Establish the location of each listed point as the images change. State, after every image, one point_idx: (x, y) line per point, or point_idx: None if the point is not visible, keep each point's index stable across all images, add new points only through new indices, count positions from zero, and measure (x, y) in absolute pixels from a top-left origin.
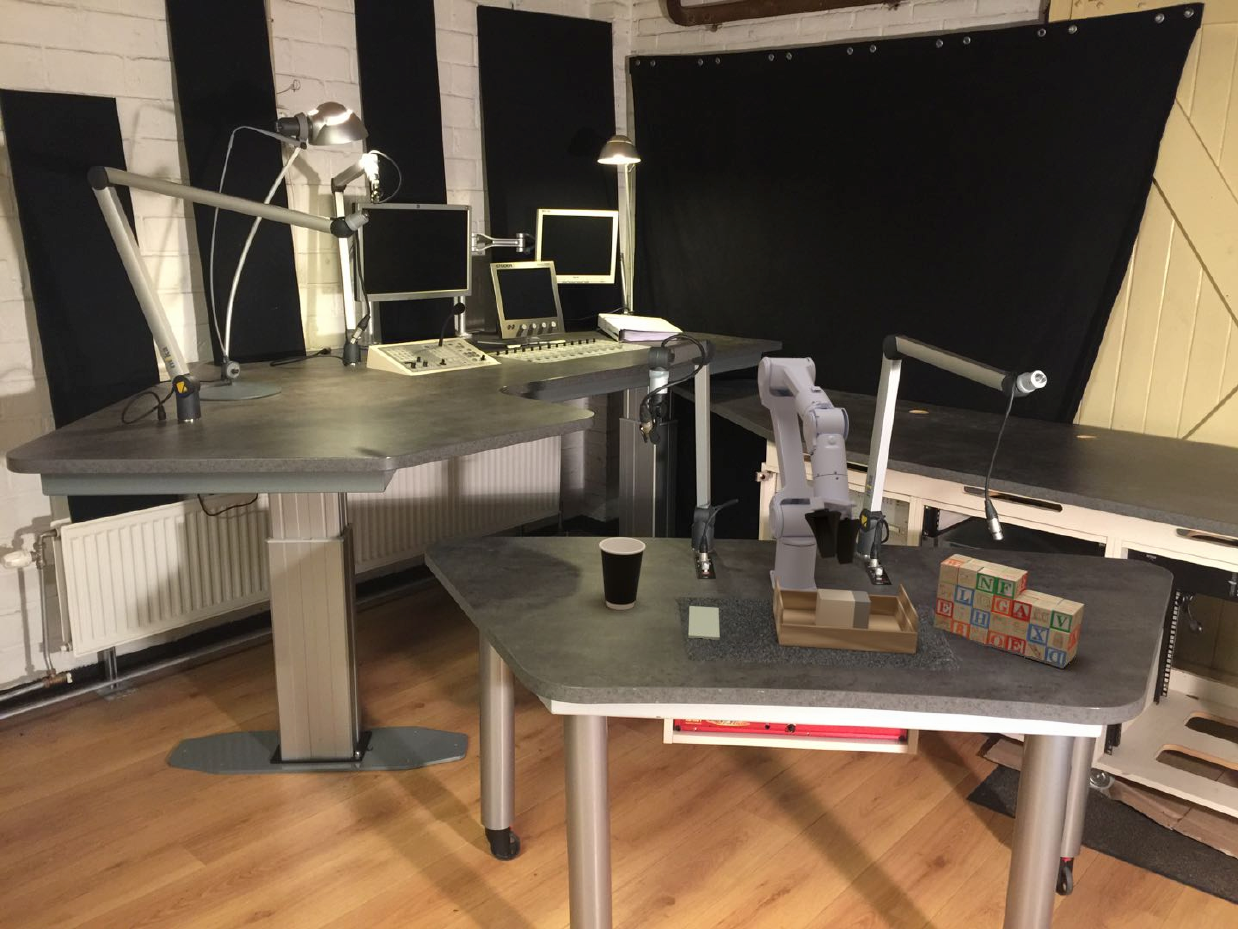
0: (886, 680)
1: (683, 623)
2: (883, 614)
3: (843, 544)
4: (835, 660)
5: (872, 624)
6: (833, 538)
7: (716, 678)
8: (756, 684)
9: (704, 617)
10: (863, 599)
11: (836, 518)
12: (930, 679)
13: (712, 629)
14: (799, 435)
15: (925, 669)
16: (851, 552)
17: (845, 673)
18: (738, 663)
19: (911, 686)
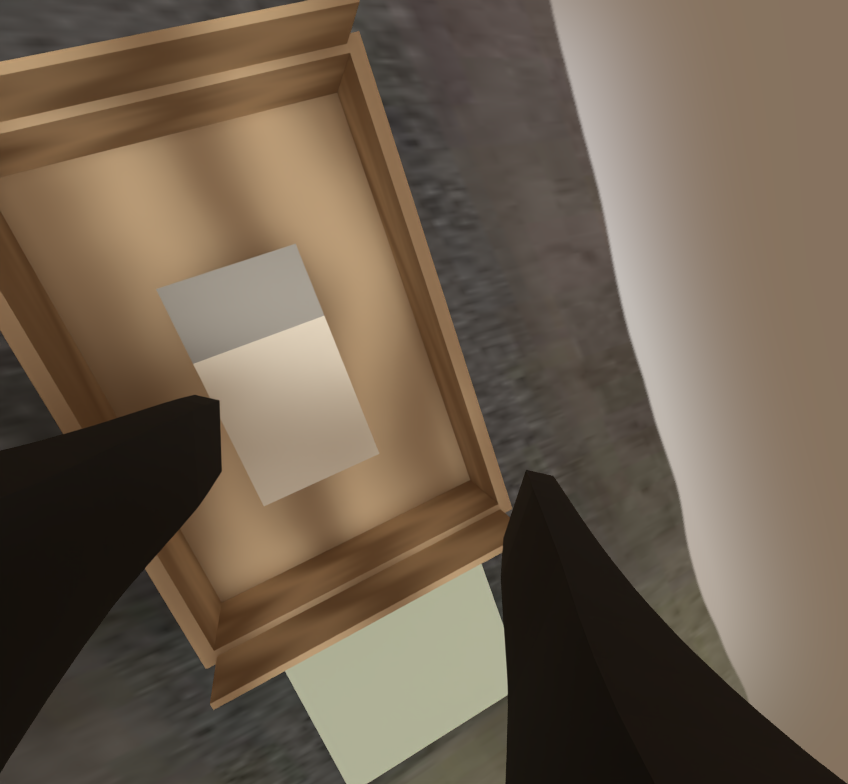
0: (534, 164)
1: (446, 736)
2: (10, 230)
3: (111, 532)
4: (479, 323)
5: (156, 260)
6: (615, 567)
7: (663, 531)
8: (660, 452)
9: (406, 719)
10: (280, 283)
11: (769, 760)
12: (476, 27)
13: (468, 662)
14: None
15: (416, 43)
16: (169, 428)
17: (540, 280)
18: (589, 526)
19: (540, 89)
